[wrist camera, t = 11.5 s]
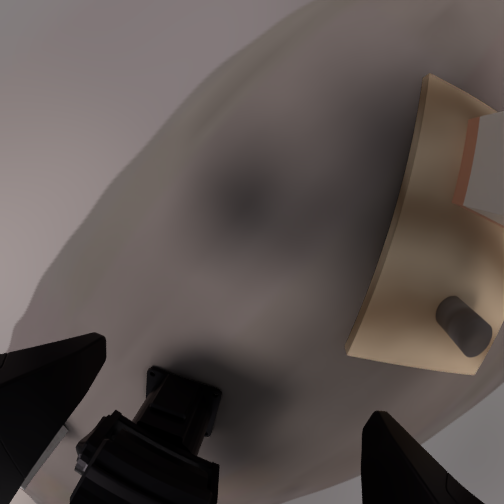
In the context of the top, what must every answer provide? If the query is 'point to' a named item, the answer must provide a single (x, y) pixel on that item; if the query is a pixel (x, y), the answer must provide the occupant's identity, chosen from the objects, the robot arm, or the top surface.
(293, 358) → the top surface
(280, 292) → the top surface
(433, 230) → the pin board
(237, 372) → the top surface
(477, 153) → the sleeve
